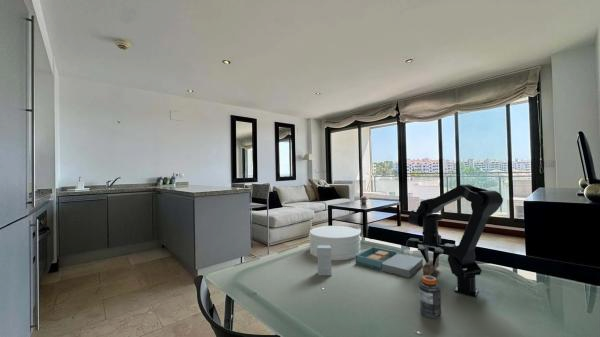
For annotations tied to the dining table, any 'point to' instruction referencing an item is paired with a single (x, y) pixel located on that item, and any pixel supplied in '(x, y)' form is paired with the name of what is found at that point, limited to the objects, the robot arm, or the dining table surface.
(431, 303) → the pill bottle
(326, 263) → the skincare box
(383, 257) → the tile
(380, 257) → the tile
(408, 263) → the platform
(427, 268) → the scraper bar
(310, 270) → the dining table surface
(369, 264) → the box
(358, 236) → the plate stack
